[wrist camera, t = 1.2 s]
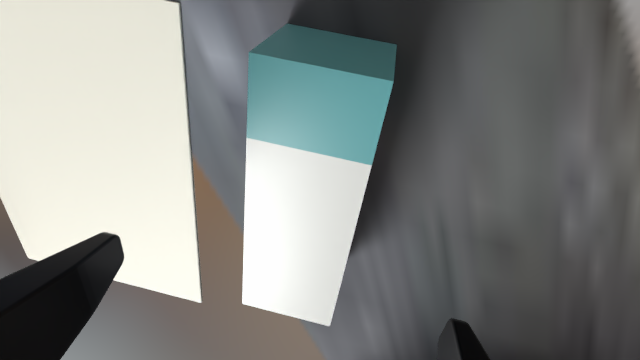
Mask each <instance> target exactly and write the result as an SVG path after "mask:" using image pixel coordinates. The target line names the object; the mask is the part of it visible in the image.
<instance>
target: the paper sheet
mask: <svg viewBox="0 0 640 360" xmlns="http://www.w3.org/2000/svg"><path fill="white" fill-rule="evenodd" d="M0 198H1V200H2V202H3V204H4V206H5V209H6V211H7V213H8V215H9V217H10V219H11V222H12V224H13V226H14V228H15V230H16V233H17V235H18V237H19V239H20V241H21V244H22V246H23V248H24V250H25V252H26V254H27V257H28V258H30V259H34V260H38V261H40V260H43V259H45V258H47V257H49V256H51V255H53V254H56V253H58V252H60V251H62V250H64V249H66V248H69V247H71V246H73V245H75V244H77V243H79V242H82V241H84V240H86V239H88V238H90V237H93V236H95V235H97V234H99V233H102V232H108V233H112V234H116V235H118V236H119V237H120V240H121V244H122V248H123V252H124V261H123V264H122V266H121V267H120V269H119V271H118V272H117V274H116V276H115V278H114V279H113V280H115V281H118V282H122V283H126V284H130V285H134V286H138V287H142V288H146V289H149V290H153V291H157V292H161V293H165V294H169V295H173V296H177V297H180V298H184V299H188V300H192V301H196V302H199V303H201V302H202V301H203V296H202V283H201V268H200V255H199V241H198V226H197V214H196V213H197V212H196V198H195V185H194V171H193V156H192V154H191V145H190V132H189V118H188V105H187V91H186V78H185V64H184V50H183V37H182V23H181V10H180V3H178V2H173V1H168V0H0Z"/></svg>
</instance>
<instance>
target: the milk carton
mask: <svg viewBox="0 0 640 360" xmlns="http://www.w3.org/2000/svg"><path fill="white" fill-rule="evenodd" d="M396 49H397V45H396V44H391V43H386V42H380V41H375V40H370V39H365V38H360V37H354V36H349V35H344V34H339V33H334V32H329V31H323V30H318V29H313V28H308V27H303V26H297V25H292V24H286V25H285V26H283V27H282V28H281V29H279V30H278V31H277V32H275V33H274V34H273V35H271V36H270V37H269V38H267V39H266V40H265V41H263V42H262V43H261V44H259V45H258V46H257V47H255V48H254V49H253V50H251V51H250V52H249V67H248V105H247V142H246V180H245V218H244V256H243V294H242V296H243V297H242V304H245V305H250V306H253V307H257V308H261V309H265V310H268V311H273V312H276V313H280V314H284V315H288V316H292V317H295V318H299V319H303V320H307V321H311V322H315V323H318V324H322V325H326V326H330V324H331V320H332V316H333V312H334V308H335V304H336V301H337V297H338V293H339V289H340V285H341V281H342V278H343V274H344V270H345V266H346V262H347V259H348V255H349V251H350V247H351V243H352V239H353V236H354V232H355V228H356V224H357V220H358V216H359V213H360V209H361V205H362V201H363V197H364V193H365V190H366V186H367V182H368V178H369V174H370V170H371V167H372V163H373V159H374V155H375V151H376V147H377V144H378V140H379V136H380V132H381V128H382V124H383V121H384V117H385V113H386V109H387V105H388V101H389V98H390V94H391V90H392V86H393V82H394V72H395V60H396Z"/></svg>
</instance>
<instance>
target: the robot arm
mask: <svg viewBox="0 0 640 360" xmlns="http://www.w3.org/2000/svg"><path fill="white" fill-rule="evenodd" d="M123 261H124V252H123V248H122V244H121V240H120V237H119V236H118V235H116V234H112V233H108V232H102V233H99V234H97V235H95V236H93V237H90V238H88V239H86V240H84V241H82V242H79V243H77V244H75V245H73V246H71V247H69V248H66V249H64V250H62V251H60V252H58V253H56V254H53V255H51V256H49V257H47V258H45V259H43V260H40V261H38V262H36V263H34V264H32V265H30V266H28V267H25V268H23V269H21V270H19V271H17V272H14V273H13V274H10V275H8V276H6V277H4V278H1V279H0V360H60V359H61V358H62V356H63V355H64V354H65V352H66V351H67V349H68V348H69V347H70V345H71V344H72V343H73V341H74V340H75V338H76V337H77V335H78V334H79V333H80V332H81V330H82V329H83V327H84V326H85V325H86V323H87V322H88V320H89V319H90V318H91V316H92V315H93V313H94V312H95V310H96V308H97V307H98V305H99V303H100V302H101V300H102V298H103V296H104V295H105V293H106V291H107V290H108V288H109V286H110V284H111V283H112V281H113V279H114V278H115V276H116V274H117V272H118V271H119V269H120V267H121V266H122V264H123ZM437 360H490V358H489V357H488V355H487V353H486V352H485V350H484V348H483V347H482V345H481V344H480V342H479V340H478V339H477V337H476V335H475V334H474V332H473V330H472V329H471V327H470V326H469V324H468V323H467V322H465V321H461V320H457V319H453V318H452V319H450V320H449V321H448V322H447V324H446V326H445V328H444V329H443V331H442V333H441V335H440V337H439V341H438V355H437Z"/></svg>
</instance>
